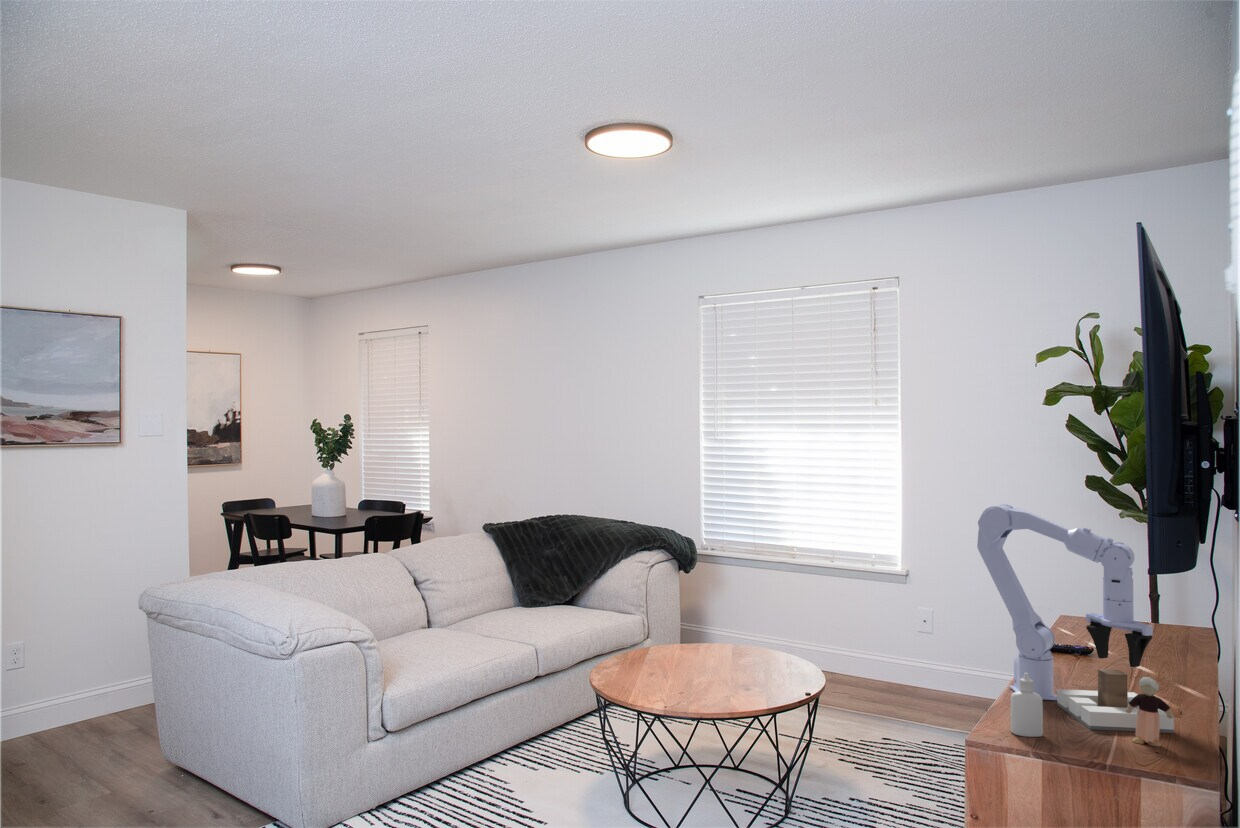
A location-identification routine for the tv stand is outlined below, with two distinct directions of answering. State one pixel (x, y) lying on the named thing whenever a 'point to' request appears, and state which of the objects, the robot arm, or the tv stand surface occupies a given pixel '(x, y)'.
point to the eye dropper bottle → (1026, 710)
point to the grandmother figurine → (1148, 712)
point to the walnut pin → (1112, 688)
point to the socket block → (1104, 712)
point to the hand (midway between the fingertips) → (1118, 662)
